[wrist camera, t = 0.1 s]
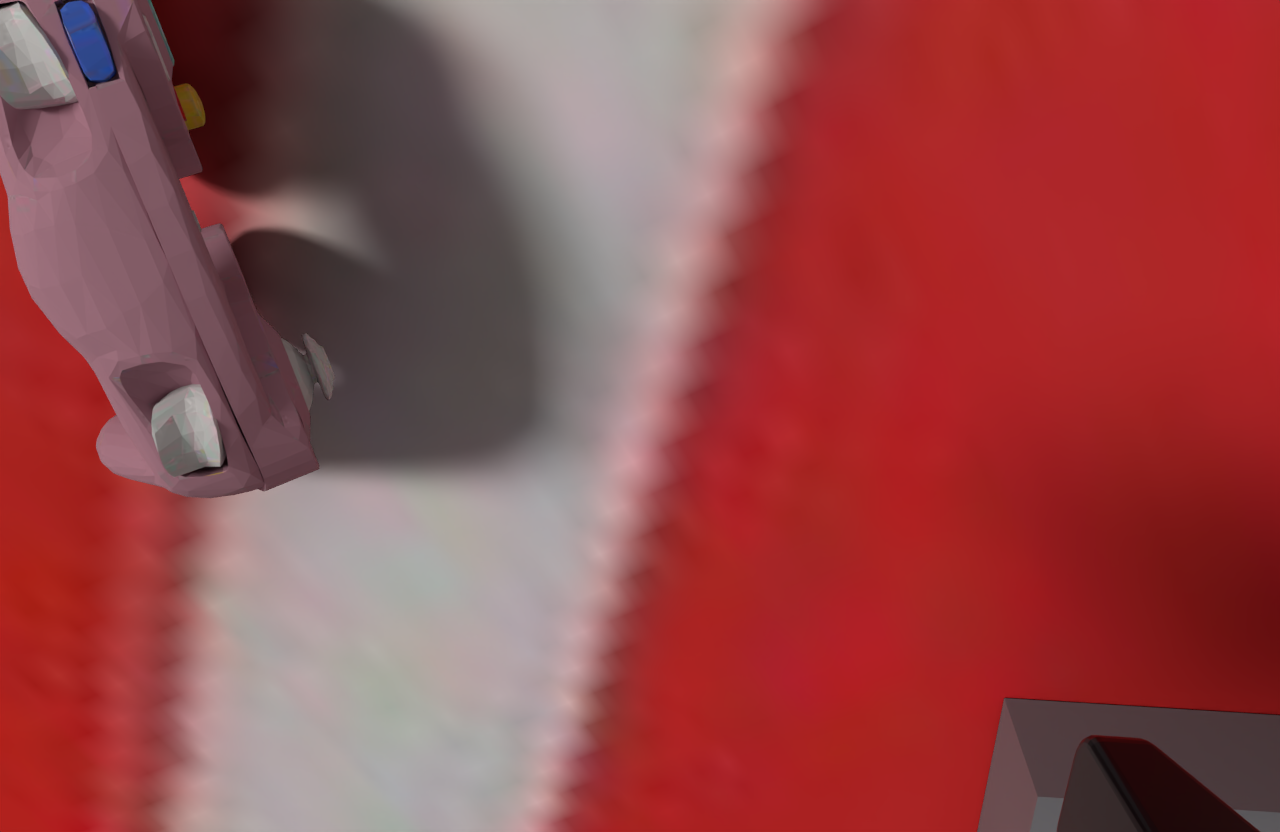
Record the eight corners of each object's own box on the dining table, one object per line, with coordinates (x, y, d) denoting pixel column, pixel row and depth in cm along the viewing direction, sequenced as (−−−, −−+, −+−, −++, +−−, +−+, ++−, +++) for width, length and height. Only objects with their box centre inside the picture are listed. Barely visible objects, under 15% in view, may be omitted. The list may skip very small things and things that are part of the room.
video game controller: (329, 388, 25) (390, 506, 19) (115, 466, 24) (107, 619, 18) (144, -95, 21) (145, -145, 15) (-123, -32, 20) (-242, -57, 14)
